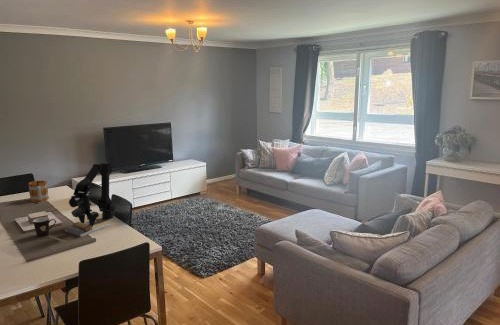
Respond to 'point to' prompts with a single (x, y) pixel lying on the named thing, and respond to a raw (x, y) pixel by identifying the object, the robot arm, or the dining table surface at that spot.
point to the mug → (38, 191)
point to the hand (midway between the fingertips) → (87, 226)
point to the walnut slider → (82, 226)
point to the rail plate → (81, 232)
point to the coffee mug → (42, 226)
